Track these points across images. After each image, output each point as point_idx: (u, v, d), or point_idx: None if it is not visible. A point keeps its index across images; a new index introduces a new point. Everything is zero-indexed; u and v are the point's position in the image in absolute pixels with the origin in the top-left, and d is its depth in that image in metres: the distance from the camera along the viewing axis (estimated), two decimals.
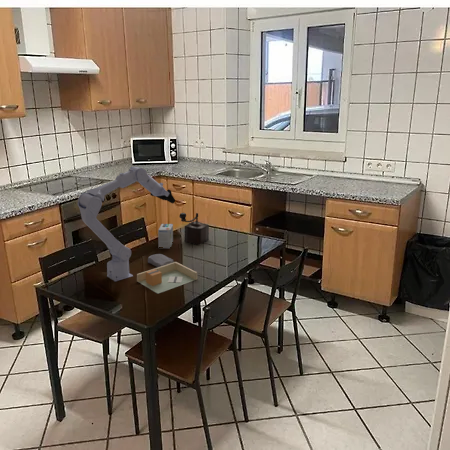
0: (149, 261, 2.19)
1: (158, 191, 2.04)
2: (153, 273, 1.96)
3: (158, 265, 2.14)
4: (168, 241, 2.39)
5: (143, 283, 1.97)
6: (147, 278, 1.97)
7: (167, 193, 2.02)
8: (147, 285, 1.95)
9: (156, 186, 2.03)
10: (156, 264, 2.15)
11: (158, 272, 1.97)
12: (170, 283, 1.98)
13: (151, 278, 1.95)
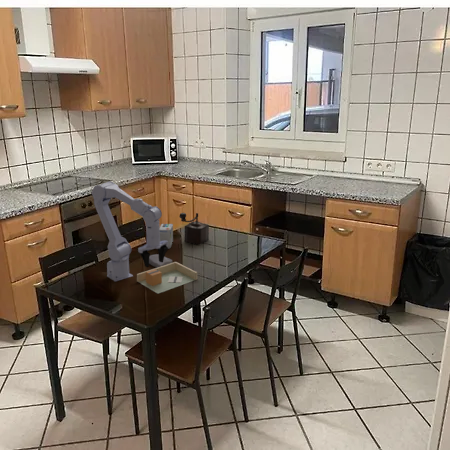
0: None
1: (147, 244, 1.92)
2: (153, 273, 1.96)
3: (157, 265, 2.13)
4: (168, 241, 2.39)
5: (143, 283, 1.97)
6: (147, 278, 1.97)
7: (139, 250, 1.88)
8: (147, 285, 1.95)
9: (148, 239, 1.90)
10: (155, 264, 2.14)
11: (158, 272, 1.97)
12: (170, 283, 1.98)
13: (151, 278, 1.95)
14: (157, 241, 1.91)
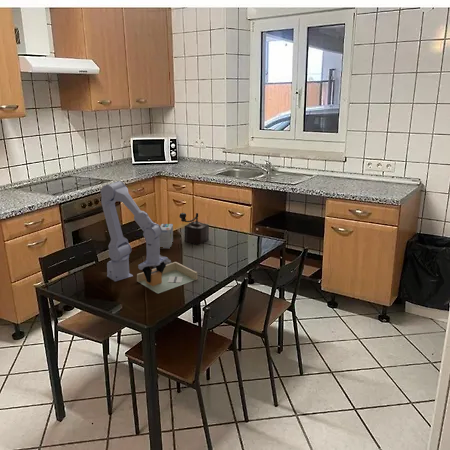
0: None
1: (147, 260, 1.94)
2: (153, 273, 1.96)
3: None
4: (168, 241, 2.39)
5: (143, 283, 1.97)
6: None
7: (139, 267, 1.91)
8: (147, 285, 1.95)
9: (148, 256, 1.92)
10: (154, 265, 2.14)
11: (158, 272, 1.97)
12: (170, 283, 1.98)
13: (151, 278, 1.95)
14: (157, 258, 1.93)
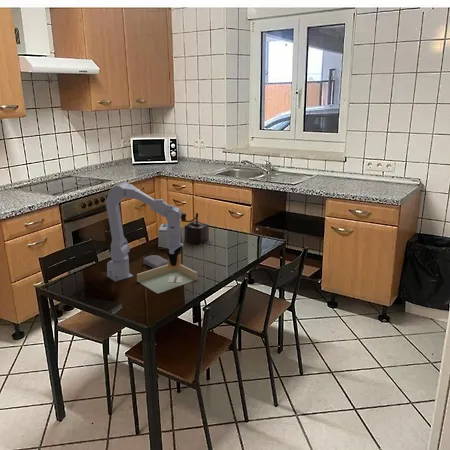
0: (145, 262, 2.18)
1: (171, 244, 1.93)
2: None
3: (154, 266, 2.12)
4: None
5: (143, 283, 1.97)
6: None
7: (172, 251, 1.90)
8: (147, 285, 1.95)
9: (174, 239, 1.93)
10: (152, 265, 2.13)
11: (178, 254, 1.99)
12: (170, 283, 1.98)
13: (178, 261, 1.96)
14: (180, 239, 1.96)
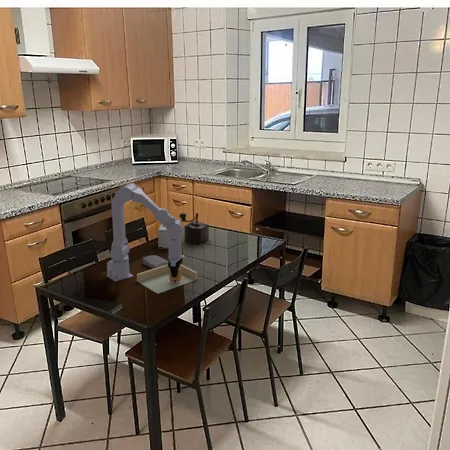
0: (144, 263, 2.17)
1: (172, 256, 1.95)
2: None
3: (153, 267, 2.12)
4: (168, 241, 2.39)
5: (143, 283, 1.97)
6: (171, 275, 1.98)
7: (173, 263, 1.91)
8: (147, 285, 1.95)
9: (175, 251, 1.94)
10: (151, 266, 2.13)
11: None
12: (170, 283, 1.98)
13: (179, 273, 1.98)
14: (181, 251, 1.98)
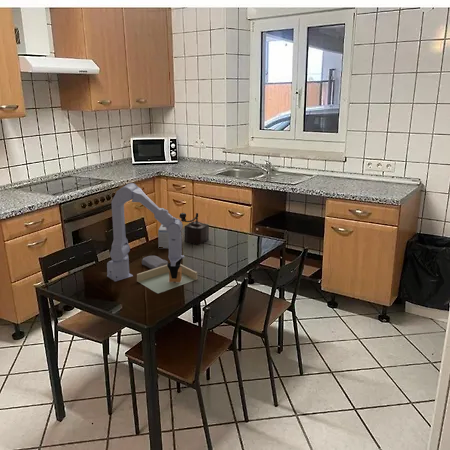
0: (143, 263, 2.17)
1: (172, 256, 1.95)
2: None
3: (152, 267, 2.11)
4: (168, 241, 2.39)
5: (143, 283, 1.97)
6: (171, 277, 1.99)
7: (173, 263, 1.91)
8: (147, 285, 1.95)
9: (175, 251, 1.94)
10: (150, 266, 2.12)
11: (179, 268, 2.02)
12: (170, 283, 1.98)
13: (179, 275, 1.98)
14: (181, 251, 1.98)
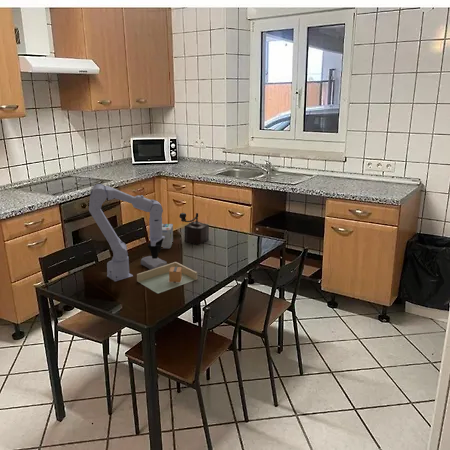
0: (142, 263, 2.16)
1: (153, 237, 2.01)
2: (177, 270, 1.99)
3: (151, 267, 2.11)
4: (168, 241, 2.39)
5: (143, 283, 1.97)
6: (171, 277, 1.99)
7: (153, 243, 1.97)
8: (147, 285, 1.95)
9: (155, 232, 2.00)
10: (149, 266, 2.12)
11: (179, 268, 2.02)
12: (170, 283, 1.98)
13: (179, 275, 1.98)
14: None
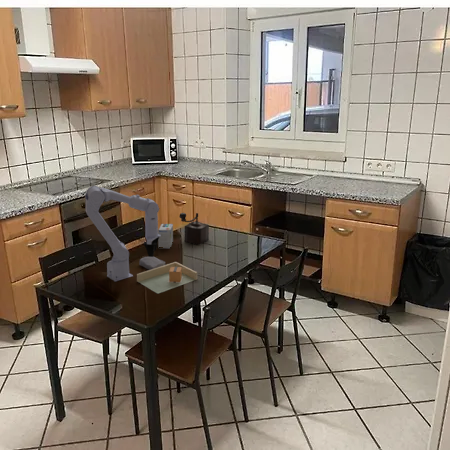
0: (141, 264, 2.16)
1: (149, 235, 2.02)
2: (177, 270, 1.99)
3: (150, 268, 2.10)
4: (168, 241, 2.39)
5: (143, 283, 1.97)
6: (171, 277, 1.99)
7: (149, 242, 1.98)
8: (147, 285, 1.95)
9: (151, 230, 2.01)
10: (148, 267, 2.12)
11: (179, 268, 2.02)
12: (170, 283, 1.98)
13: (179, 275, 1.98)
14: (157, 230, 2.05)
